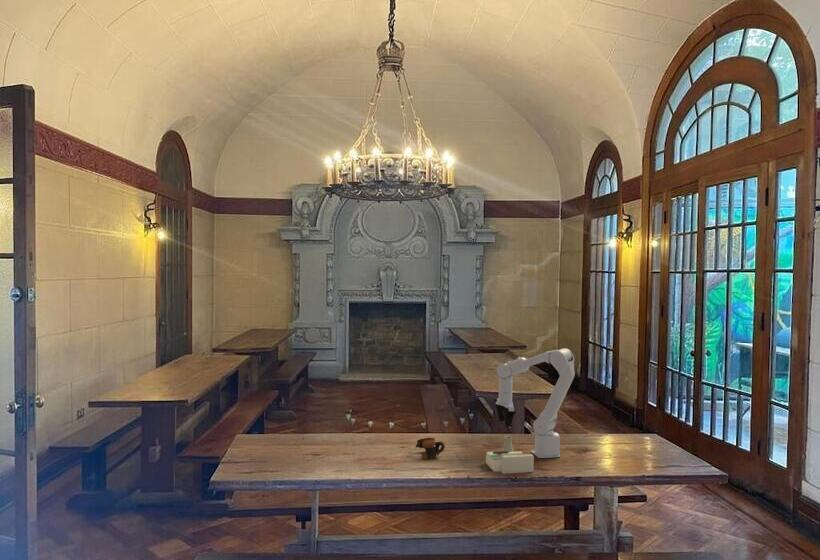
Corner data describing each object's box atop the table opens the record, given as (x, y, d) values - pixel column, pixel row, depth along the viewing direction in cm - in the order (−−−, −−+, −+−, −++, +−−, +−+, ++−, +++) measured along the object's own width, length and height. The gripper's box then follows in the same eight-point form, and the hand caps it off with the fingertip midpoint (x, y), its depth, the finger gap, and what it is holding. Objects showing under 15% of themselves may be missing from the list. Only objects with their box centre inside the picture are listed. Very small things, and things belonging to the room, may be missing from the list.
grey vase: (517, 466, 221) (518, 440, 221) (498, 465, 222) (498, 439, 222) (516, 460, 228) (517, 434, 228) (498, 458, 230) (498, 433, 229)
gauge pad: (520, 464, 223) (521, 449, 222) (522, 465, 221) (522, 451, 221) (492, 466, 220) (492, 451, 220) (493, 467, 219) (493, 452, 219)
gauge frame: (521, 461, 227) (521, 445, 227) (533, 471, 216) (533, 455, 216) (485, 463, 224) (486, 447, 224) (496, 474, 213) (496, 458, 213)
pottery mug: (414, 460, 227) (412, 439, 231) (421, 464, 236) (418, 443, 239) (444, 455, 225) (441, 434, 229) (449, 458, 233) (446, 438, 237)
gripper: (490, 388, 251) (489, 419, 251) (502, 396, 237) (501, 429, 237) (506, 387, 252) (505, 418, 253) (519, 395, 238) (518, 428, 238)
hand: (504, 423), depth 245 cm, fingers open, 7 cm apart
